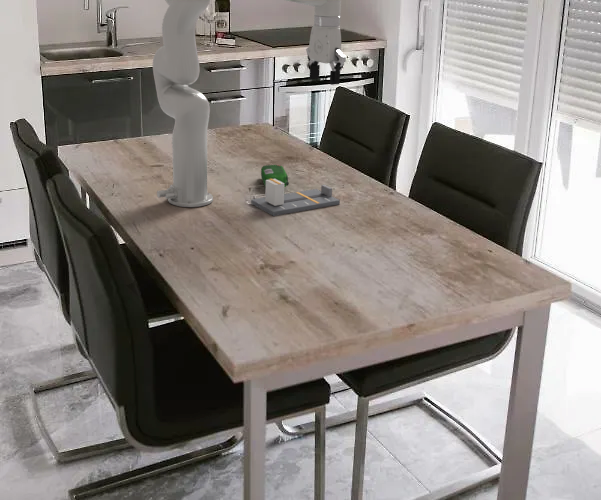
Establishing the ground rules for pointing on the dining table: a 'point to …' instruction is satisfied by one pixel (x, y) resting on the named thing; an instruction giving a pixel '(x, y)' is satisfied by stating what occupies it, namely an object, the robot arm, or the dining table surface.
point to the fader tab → (274, 192)
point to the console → (299, 201)
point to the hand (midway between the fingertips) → (324, 81)
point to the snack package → (274, 174)
